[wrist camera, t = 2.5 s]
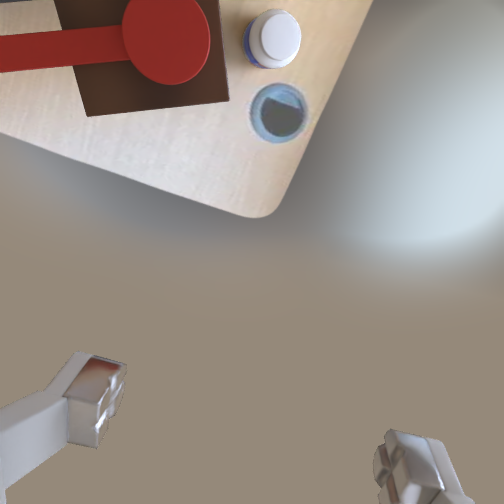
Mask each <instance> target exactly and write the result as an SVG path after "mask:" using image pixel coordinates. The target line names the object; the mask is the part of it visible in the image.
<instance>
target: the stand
mask: <svg viewBox="0 0 504 504" xmlns="http://www.w3.org/2000/svg"><path fill="white" fill-rule="evenodd" d="M195 1H196V2H197V4H198V5H199V6H200V8H201V9H202V11H203V13H204V15H205V17H206V20H207V23H208V26H209V31H210V49H209V54H208V57H207V60H206V62H205V64H204V66H203V67H202V69H201V70H200V71H199V73H198V74H197V75H195V76H194V77H193V78H192V79H190V80H188V81H186V82H184V83H181V84H176V85H167V84H161V83H158V82H155V81H153V80H151V79H149V78H147V77H146V76H144V75H143V74H142V73H141V72H140V71H139V70H138V69H137V68H136V67H135V66H134V65H133V63H132V62H131V60H124V61H114V62H104V63H94V64H84V65H74V66H73V70H74V73H75V77H76V80H77V84H78V87H79V91H80V94H81V98H82V102H83V105H84V109H85V112H86V115H87V117H91V116H100V115H109V114H118V113H127V112H136V111H145V110H154V109H163V108H173V107H182V106H191V105H200V104H209V103H218V102H227V101H230V97H229V88H228V78H227V69H226V60H225V51H224V42H223V33H222V23H221V14H220V5H219V0H195ZM129 2H130V0H54V3H55V6H56V10H57V13H58V17H59V20H60V24H61V27H62V30H70V29H81V28H92V27H103V26H114V25H122V19H123V15H124V12H125V9H126V7H127V5H128V3H129Z"/></svg>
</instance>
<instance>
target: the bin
mask: <svg viewBox="0 0 504 504" xmlns="http://www.w3.org/2000/svg"><path fill="white" fill-rule="evenodd" d="M18 1H30V0H0V3H6V2H18Z"/></svg>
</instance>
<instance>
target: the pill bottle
mask: <svg viewBox="0 0 504 504" xmlns="http://www.w3.org/2000/svg"><path fill="white" fill-rule="evenodd" d="M300 41H301V31H300V27H299V25H298V23H297V21H296V20H295V19H294V17H293V16H292V15H291V14H290V13H288V12H286V11H284V10H281V9H270V10H267V11H265V12H263V13H262V14H260V15H259V16H258V17H257V18H255V19H254V20H253V21H251V22H250V23H249V25H248V26H247V28H246V29H245V32H244V35H243V40H242V46H243V51H244V54H245V56H246V58H247V59H248V61H249V62H250V63H251V64H253V65H254V66H256V67H259V68H264V69H275V68H281V67H284V66H286V65H287V64H289V63H290V62H291V61H292V60H293V59H294V57H295V56H296V54H297V52H298V50H299V46H300Z"/></svg>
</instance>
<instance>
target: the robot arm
mask: <svg viewBox="0 0 504 504" xmlns="http://www.w3.org/2000/svg"><path fill="white" fill-rule="evenodd" d="M126 369H127V365H126V364H124V363H121V362H117V361H114V360H110V359H106V358H102V357H99V356H95V355H91V354H87V353H83V352H80V351H77V352H76V353H74V354H73V355H72V356H71V357H70V359H69V360H68V361H67V362H66V363H65V365H64V366H63V367H62V368H61V370H60V371H59V372H58V373H57V375H56V376H55V377H54V378H53V379H52V381H51V382H50V383H49V385H48V386H47V387H46V388H45V389H44V391H43V392H42V391H36V392H34V393H32V394H30V395H27V396H25V397H23V398H21V399H19V400H17V401H15V402H13V403H11V404H8V405H6V406H4V407H2V408H0V504H6V497H5V489H7V488H8V487H9V486H10V485H12V484H13V483H15V482H16V481H17V480H19V479H20V478H22V477H23V476H25V475H26V474H27V473H29V472H30V471H31V470H33V469H34V468H35V467H37V466H38V465H40V464H41V463H42V462H44V461H45V460H46V459H48V458H49V457H51V456H52V455H53V454H55V453H56V452H58V451H59V450H60V449H62V448H63V447H64V446H66V445H67V443H72V444H76V445H81V446H86V447H91V448H95V449H97V448H98V446H99V444H100V442H101V441H102V439H103V437H104V435H105V433H106V431H107V429H108V423H109V419H110V418H112V417H113V416H115V414H116V413H117V411H118V409H119V407H120V404H121V401H122V398H123V395H124V391H125V382H124V381H123V378H124V376H125V375H126ZM384 439H385V443H384V444H382V445H380V446H378V448H377V450H376V452H375V454H374V460H373V473H374V478H375V481H376V482H377V483H378V485H379V486H380V487H381V490H380V492H379V494H378V499H379V503H380V504H476V503H475V502H474V501H473V500H472V499H471V498H470V497H466V496H465V495H464V493H463V490H462V488H461V485H460V483H459V481H458V478H457V476H456V473H455V471H454V468H453V466H452V463H451V461H450V459H449V456H448V454H447V451H446V449H445V447H444V444H443V443H442V442H441V441H438V440H435V439H431V438H427V437H422V436H418V435H414V434H410V433H406V432H401V431H397V430H393V429H390V430H388V431H387V432H386V434H385V436H384Z"/></svg>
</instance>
